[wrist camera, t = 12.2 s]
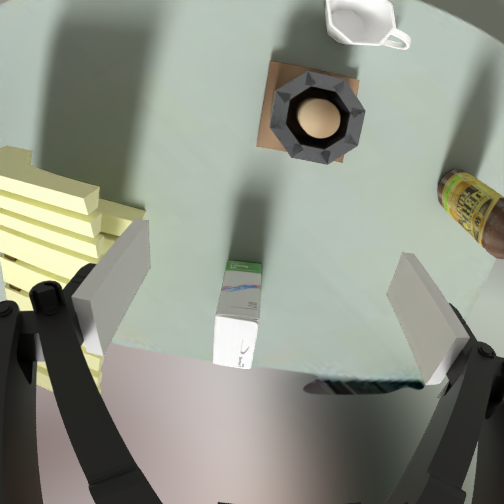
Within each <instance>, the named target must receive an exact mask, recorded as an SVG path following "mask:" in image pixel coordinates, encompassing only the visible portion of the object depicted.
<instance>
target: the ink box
mask: <svg viewBox="0 0 504 504" xmlns="http://www.w3.org/2000/svg"><path fill="white" fill-rule="evenodd" d="M261 278H262V265H261V264H259V263H250V262H241V261H228V262H227V266H226V270H225V275H224V280H223V284H222V289H221V293H220V298H219V302H218V306H217V311H216V315H215V328H214V346H213V364H216V365H222V366H229V367H236V368H242V369H251V366H252V360H253V354H254V349H255V342H256V338H257V330H258V324H259V318H260V300H261Z"/></svg>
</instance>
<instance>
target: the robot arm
mask: <svg viewBox="0 0 504 504" xmlns="http://www.w3.org/2000/svg"><path fill="white" fill-rule="evenodd" d="M150 268H151V266H150V243H149V220H141V219H134V220H133V222H132V223H131V224H130V225H129V226H128V227H127V228H126V230H125V231H124V232H123V233H122V234H121V235H120V237H119V238H118V239H117V240H116V241H115V243H114V244H113V245H112V246H111V247H110V249H109V250H108V251H107V252H106V253H105V255H104V256H103V257H102V258H101V260H100V261H99V262H98V263H97V264H94V263H88V264H86V265H85V266H83V267H81V268H80V269H79V270H78V271H77V273H76V274H75V276H73V278H72V279H71V280H70V282H68V284H67V285H66V286H65V287H64V289H63V290H62V286H61V285H60V283H58V282H56V281H51V280H48V281H43V282H40V283H38V284H36V285H35V286H33V287H32V289H31V290H30V292H29V297H30V301H31V304H32V307H33V310H34V311H20V309H19V306H18V304H17V303H16V302H15V301H12V300H6V301H2V302H0V504H43V499H42V492H41V485H40V476H39V466H38V454H37V438H36V378H37V362H45V363H46V367H47V371H48V375H49V378H50V382H51V385H52V389H53V392H54V395H55V398H56V401H57V405H58V408H59V411H60V414H61V417H62V419H63V422H64V425H65V428H66V430H67V433H68V436H69V438H70V441H71V443H72V446H73V448H74V451H75V453H76V455H77V458H78V460H79V463H80V465H81V467H82V469H83V472H84V474H85V476H86V478H87V480H88V483H89V490H90V493H91V495H92V497H93V500H94V502H95V503H96V504H163V503H162V502H161V501H160V499H159V498H158V496H157V495H156V493H155V492H154V490H153V489H152V487H151V485H150V484H149V482H148V481H147V479H146V477H145V476H144V474H143V473H142V471H141V470H140V468H139V467H138V466H137V464H136V463H135V461H134V459H133V457H132V456H131V454H130V452H129V450H128V449H127V447H126V445H125V443H124V441H123V439H122V437H121V436H120V434H119V432H118V430H117V428H116V426H115V424H114V422H113V420H112V418H111V416H110V414H109V412H108V410H107V408H106V406H105V403H104V401H103V399H102V397H101V395H100V392H99V390H98V388H97V386H96V383H95V381H94V379H93V376H92V374H91V372H90V369H89V367H88V364H87V362H86V359H85V357H84V354H83V352H82V349H81V346H82V344H83V342H84V345H85V348H86V351H87V352H88V353H92V354H96V355H100V356H104V354H105V352H106V350H107V348H108V346H109V344H110V342H111V340H112V338H113V337H114V335H115V333H116V331H117V329H118V327H119V325H120V323H121V321H122V319H123V317H124V315H125V313H126V311H127V310H128V308H129V306H130V304H131V302H132V300H133V298H134V296H135V295H136V293H137V291H138V289H139V287H140V285H141V284H142V282H143V280H144V278H145V276H146V275H147V273H148V271H149V269H150ZM387 297H388V299H389V301H390V303H391V305H392V307H393V310H394V312H395V314H396V316H397V318H398V320H399V323H400V325H401V327H402V329H403V331H404V334H405V336H406V338H407V341H408V343H409V345H410V348H411V350H412V352H413V355H414V357H415V359H416V362H417V364H418V367H419V369H420V372H421V374H422V376H423V379H424V382H425V384H426V385H432V384H440V382H441V381H442V380H443V378H444V377H445V375H447V377H448V379H449V382H448V383H447V385H446V386H445V387H444V389H443V390H442V391H441V392H440V394H439V395H438V397H437V398H439V397H440V396H441V398H440V400H439V402H438V405H437V407H436V410H435V411H434V414H433V416H432V418H431V420H430V423H429V425H428V427H427V429H426V431H425V433H424V435H423V437H422V439H421V441H420V443H419V445H418V447H417V449H416V451H415V453H414V455H413V456H412V458H411V460H410V462H409V464H408V466H407V467H406V469H405V471H404V473H403V474H402V476H401V478H400V479H399V481H398V483H397V484H396V486H395V488H394V490H393V491H392V493H391V494H390V496H389V497H388V499H387V500H386V502H385V503H384V504H464V501H465V498H466V492H465V491H463V490H462V489H461V488H462V485H463V482H464V480H465V477H466V474H467V472H468V469H469V466H470V463H471V460H472V457H473V454H474V451H475V448H476V445H477V442H478V453H477V466H476V475H475V484H474V491H473V498H472V504H504V358H501V357H498V356H496V353H495V351H494V350H493V349H492V348H491V347H490V346H489V345H487V344H486V343H483V342H478V341H477V340H476V338H475V336H474V335H473V333H472V332H471V330H470V328H469V327H468V325H467V324H466V322H465V320H464V319H462V316H461V314H460V313H459V311H458V310H457V309H456V308H455V307H454V306H453V305H452V304H451V303H448V302H447V300H446V299H445V297H444V296H443V294H442V293H441V291H440V290H439V288H438V287H437V285H436V284H435V282H434V281H433V280H432V278H431V277H430V275H429V274H428V272H427V271H426V270H425V268H424V267H423V265H422V264H421V263H420V261H419V260H418V259H417V257H416V256H415V255H414V254H411V253H404V252H402V254H401V257H400V260H399V263H398V266H397V268H396V271H395V274H394V276H393V279H392V282H391V284H390V287H389V290H388V292H387ZM218 504H229V503H220V502H218ZM349 504H361V503H349Z"/></svg>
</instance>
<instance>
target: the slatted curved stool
mask: <svg viewBox="0 0 504 504" xmlns="http://www.w3.org/2000/svg"><path fill="white" fill-rule="evenodd" d="M31 156H32V151H30V150H25V149H20V148H16V147H11V146H5V147H2V148H0V252H2V253H1V255H0V260H1V266H2V272H3V278H4V281H5V282H7V283H6V285H5V291H6V297H7V300H12V301H15V302H16V303H17V304H18V306H19V309H20V311H34V310H33V307H32V304H31V301H30V297H29V292H30V290H31V289H32V287H33V286H35V285H36V284H38V283H40V282H43V281H48V280H51V281H56V282H58V283H60V285H61V286H62V290H63V289H64V287H65V286H66V285H67V284H68V282H70V280H71V279H72V278H73V276H75V274H76V273H77V271H78V270H79V269H80V268H81V267H83V266H85V265H86V264H88V263H94V264H97V263H98V262H99V261H100V260H101V258H102V257H103V256H104V255H105V253H106V252H107V251H108V250H109V249H110V247H111V246H112V245H113V244H114V243H115V241H116V240H117V239H118V238H119V237H120V235H121V234H122V233H123V232H124V231H125V230H126V228H127V227H128V226H129V225H130V224H131V223H132V222H133V220H134V219H141V220H144V219H145V213H146V211H144V210H140V209H137V208H133V207H130V206H126V205H122V204H119V203H115V202H111V201H108V200H104V199H100V198H99V191H100V187H99V186H95V185H91V184H87V183H84V182H80V181H77V180H73V179H70V178H66V177H63V176H60V175H56V174H53V173H50V172H47V171H44V170H42V169H39V168H37V167H34V166H32V165H31V164H30V162H31ZM81 349H82V352H83V354H84V357H85V359H86V362H87V364H88V367H89V369H90V372H91V374H92V376H93V379H94V381H95V383H96V386H97V388H98V390H99V392H100V395H101V389H100V387H99V385H100V382H101V380H102V371H101V370H100V368H101V366H102V364H103V362H104V356H100V355H96V354H92V353H88V352H87V351H86V348H85V345H84V342H83V344H82V346H81ZM36 384H37V385H39V386H41V387H43V388H45V389H48V390H50V391H52V392H53V389H52V385H51V382H50V378H49V375H48V371H47V367H46V363H45V362H37V378H36Z"/></svg>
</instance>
